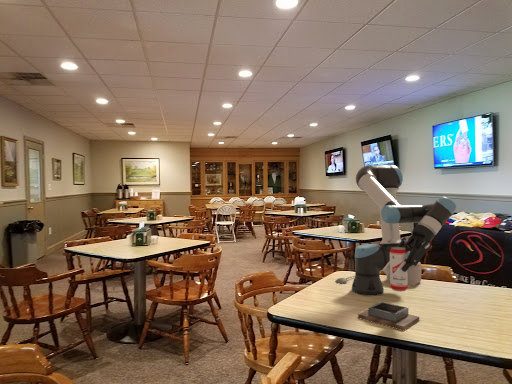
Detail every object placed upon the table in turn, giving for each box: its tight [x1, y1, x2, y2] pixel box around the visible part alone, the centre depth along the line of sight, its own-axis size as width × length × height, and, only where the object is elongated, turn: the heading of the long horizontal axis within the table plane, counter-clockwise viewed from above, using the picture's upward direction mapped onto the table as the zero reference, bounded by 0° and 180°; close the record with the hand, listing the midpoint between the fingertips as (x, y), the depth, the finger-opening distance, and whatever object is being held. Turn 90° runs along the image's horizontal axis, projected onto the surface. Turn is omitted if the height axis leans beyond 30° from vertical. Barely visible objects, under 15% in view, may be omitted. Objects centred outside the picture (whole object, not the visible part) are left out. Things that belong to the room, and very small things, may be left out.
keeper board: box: [357, 309, 420, 331], centre depth 134 cm, size 18×14×2 cm
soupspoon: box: [334, 275, 355, 285], centre depth 196 cm, size 22×3×7 cm
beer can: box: [389, 247, 409, 292], centre depth 132 cm, size 6×6×16 cm
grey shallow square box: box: [367, 301, 409, 323], centre depth 134 cm, size 11×11×3 cm
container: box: [385, 261, 422, 286], centre depth 193 cm, size 18×18×12 cm
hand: (390, 274), depth 131 cm, fingers closed on beer can, 6 cm apart
